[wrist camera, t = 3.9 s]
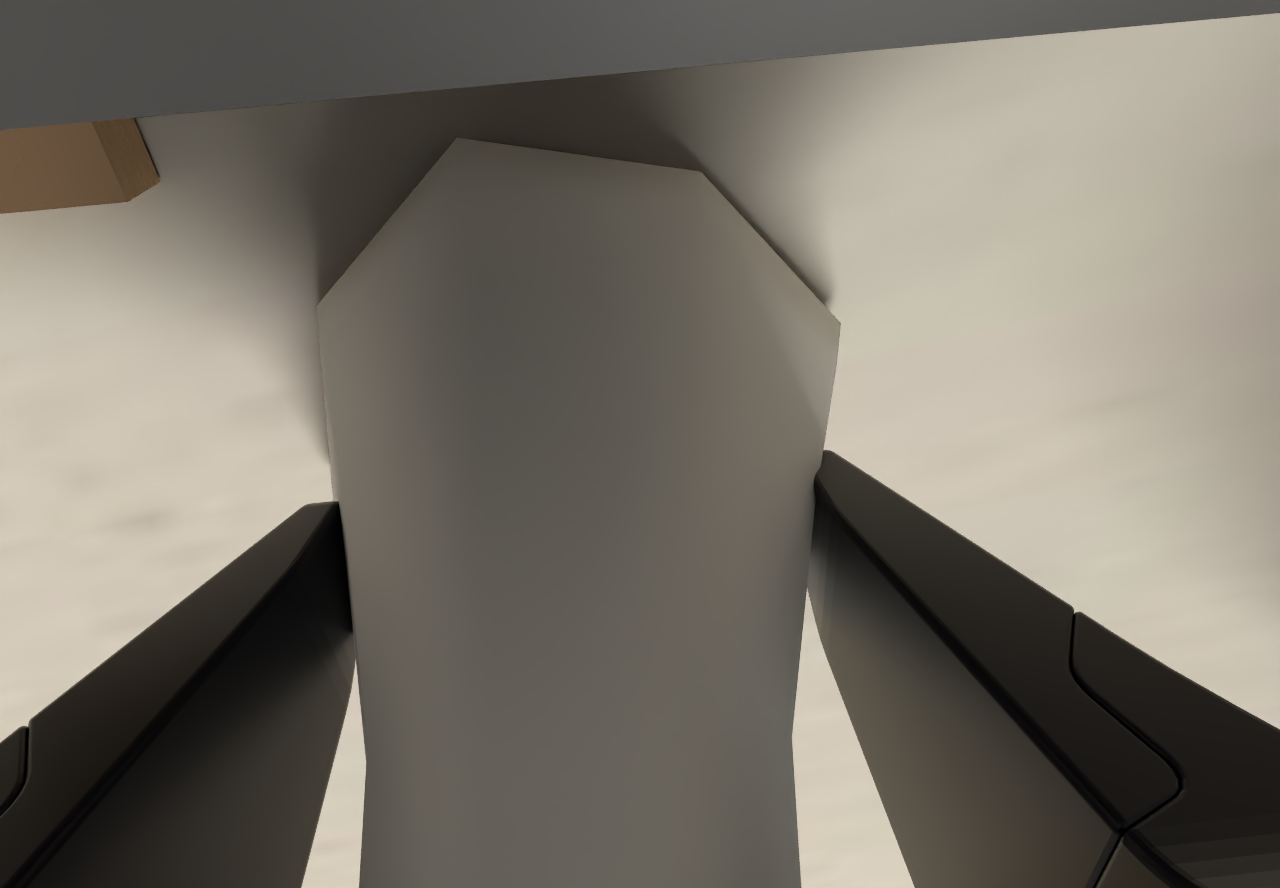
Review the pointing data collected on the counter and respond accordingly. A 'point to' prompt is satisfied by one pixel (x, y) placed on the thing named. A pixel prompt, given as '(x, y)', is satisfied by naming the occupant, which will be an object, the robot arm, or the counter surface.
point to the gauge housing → (73, 165)
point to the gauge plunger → (464, 43)
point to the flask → (575, 525)
